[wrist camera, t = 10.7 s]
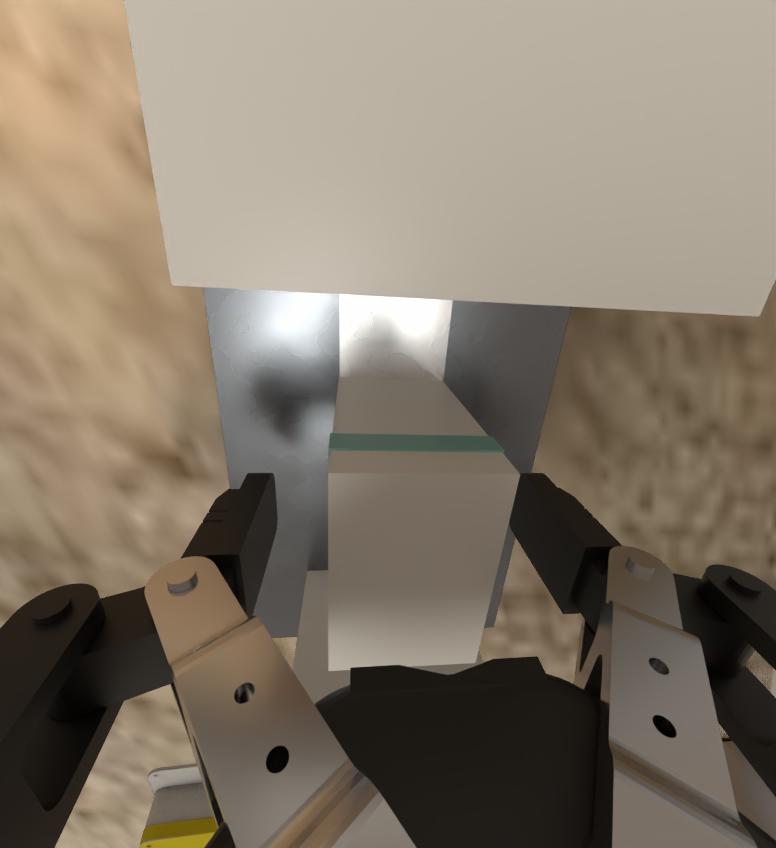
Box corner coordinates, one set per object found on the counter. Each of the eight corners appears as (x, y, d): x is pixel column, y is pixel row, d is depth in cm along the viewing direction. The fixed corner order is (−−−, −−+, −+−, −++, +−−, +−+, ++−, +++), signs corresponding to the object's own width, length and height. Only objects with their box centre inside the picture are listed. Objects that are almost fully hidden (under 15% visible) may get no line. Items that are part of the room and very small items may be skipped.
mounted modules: (519, 148, 11) (989, -192, 3) (442, 623, 19) (509, 885, 11) (286, 124, 10) (43, -427, 2) (308, 630, 19) (274, 915, 10)
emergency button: (171, 947, 26) (109, 855, 21) (194, 857, 30) (148, 760, 25) (299, 926, 27) (275, 833, 21) (306, 842, 31) (287, 744, 25)
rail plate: (588, 151, 12) (611, 139, 11) (485, 608, 21) (493, 627, 20) (193, 110, 11) (176, 92, 10) (256, 618, 20) (250, 639, 18)
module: (444, 379, 14) (523, 472, 8) (427, 509, 16) (476, 663, 10) (337, 375, 13) (325, 471, 7) (336, 509, 16) (326, 672, 9)
